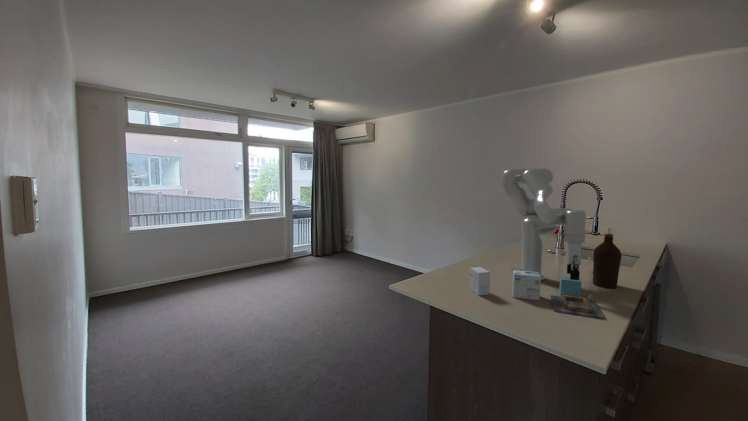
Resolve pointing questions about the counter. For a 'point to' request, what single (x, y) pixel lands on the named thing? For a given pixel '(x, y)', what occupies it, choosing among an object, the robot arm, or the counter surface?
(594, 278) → the olive oil
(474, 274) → the small box
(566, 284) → the teal block
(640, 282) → the counter surface
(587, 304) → the board
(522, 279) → the light bulb box
